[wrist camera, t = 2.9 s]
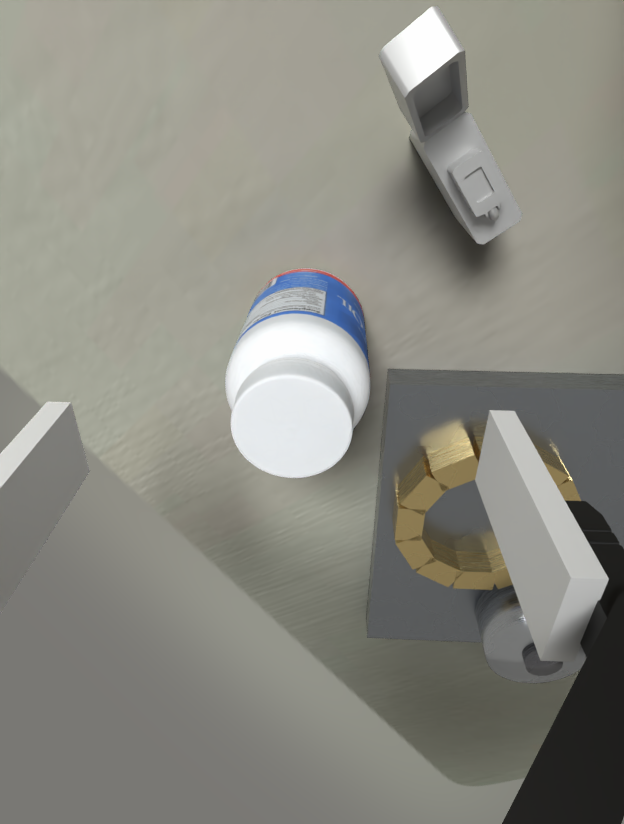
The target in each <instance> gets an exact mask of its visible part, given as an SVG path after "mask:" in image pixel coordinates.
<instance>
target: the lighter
mask: <svg viewBox="0 0 624 824" xmlns="http://www.w3.org/2000/svg"><path fill="white" fill-rule="evenodd" d="M379 57H380V60H381V62H382V65H383V67H384V70H385V72H386V75H387V77H388V80H389V83H390V85H391V88H392V90H393V93H394V95H395V98H396V100H397V103H398V105H399V108H400V110H401V111H402V113H403V115H404V116H405V118H406V120H407V121H408V123H409V125H410V126H411V128H412V130H411V132H410V136H409V138H410V140H411V141H412V143H413V145H414V147H415V148H416V150H417V152H418V154H419V155H420V157H421V159H422V161H423V162H424V164H425V166H426V168H427V169H428V171H429V173H430V175H431V176H432V178H433V180H434V182H435V183H436V185H437V187H438V188H439V190H440V192H441V194H442V195H443V197H444V199H445V201H446V202H447V204H448V206H449V208H450V209H451V211H452V213H453V215H454V216H455V218H456V219H457V220H458V222H459V223H460V224H461V225H462V226H463V227H464V229H465V230H466V231H467V232H468V233H469V235H470V236H471V237H472V238H473V239H474V240H475V242H476V243H478V244H483V245H484V244H485V243H487V242H488V241H490V240H491V239H493V238H495V237H496V236H498V235H499V234H501V233H502V232H504V231H505V230H507V229H508V228H510V227H512V226H513V225H515V224H516V223H518V222H519V221H520V219H521V216H522V212H521V210H520V208H519V206H518V204H517V202H516V200H515V198H514V197H513V195H512V193H511V191H510V189H509V187H508V185H507V183H506V181H505V179H504V177H503V175H502V173H501V171H500V169H499V167H498V165H497V163H496V161H495V159H494V157H493V156H492V154H491V152H490V150H489V148H488V146H487V144H486V142H485V140H484V138H483V136H482V134H481V132H480V130H479V128H478V126H477V124H476V122H475V120H474V118H473V116H472V114H471V113H467V112H465V111H466V109H467V108H468V107H469V106H468V90H467V75H466V59H465V50H464V48H463V47H462V45H461V43H460V42H459V40H458V38H457V37H456V35H455V33H454V32H453V30H452V29H451V27H450V25H449V24H448V22H447V20H446V19H445V17H444V15H443V14H442V12H441V10H440V9H439V7H438V6H434V7H430V8H429V9H428V10H427V11H426V12H425V13H423V14H422V15H421V16H420V17H419V18H417V19H416V20H415V21H414V22H413V23H411V24H410V25H409V26H408V27H407V28H406V29H404V30H403V31H402V32H401V33H400V34H398V35H397V36H396V37H395V38H394V39H393V40H391V41H390V42H389V43H388V44H387V45H385V46H384V47H383V49H382V50H381V52H380V54H379Z"/></svg>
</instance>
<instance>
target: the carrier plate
mask: <svg viewBox="0 0 624 824" xmlns="http://www.w3.org/2000/svg"><path fill="white" fill-rule="evenodd" d="M489 410H502V411H515V413H516V415H517V416H518V418H519V420H520V422H521V423H522V425H523V427H524V429H525V431H526V432H527V434H528V436H529V438H530V439H531V441H532V443H533V445H534V447H535V448H536V450H537V452H538V454H539V455H540V457H541V459H542V461H543V463H544V464H545V466H546V468H547V470H548V471H549V473H550V475H551V477H552V479H553V480H554V482H555V484H556V486H557V488H558V489H559V491H560V493H561V495H562V496H563V498H564V500H565V501H586V502H588V503H589V504H590V505H591V506H592V507H594V508H595V509H596V510H597V511H598V512H600V513H601V514H602V515H603V517H604V518H605V520H606V522H607V523H608V525H609V526H610V528H611V530H612V533H614V534H615V536H616V537H617V539H618V541H619V545H622V547H623V549H624V375H616V374H574V373H532V372H490V371H448V370H407V369H388V372H387V383H386V395H385V406H384V418H383V430H382V441H381V453H380V464H379V476H378V487H377V499H376V510H375V522H374V533H373V545H372V556H371V568H370V579H369V591H368V602H367V614H366V622H367V638H390V639H413V640H437V641H460V642H482V644H483V648H484V652H485V656H486V660H487V663H488V665H489V667H490V668H491V669H492V670H493V671H494V672H495V673H496V674H498V675H499V676H501V677H503V678H506V679H509V680H512V681H516V682H522V683H543V682H550V681H555V680H558V679H562V678H564V677H567V676H569V675H571V674H573V673H575V672H577V671H578V670H580V669H581V668H582V666H583V664H584V662H585V660H586V655H585V653H584V651H583V649H582V646H581V647H580V649H579V651H578V654H577V656H576V659H575V661H574V662H563V661H540V658H539V655H538V652H537V649H536V647H535V644H534V641H533V638H532V636H531V633H530V630H529V627H528V625H527V622H526V619H525V616H524V614H523V611H522V608H521V605H520V603H519V600H518V597H517V594H516V592H515V589H514V586H513V583H512V581H511V578H510V575H509V572H508V570H507V567H506V564H505V561H504V559H503V556H502V553H501V550H500V548H499V545H498V542H497V539H496V537H495V534H494V531H493V528H492V526H491V523H490V520H489V517H488V515H487V512H486V509H485V506H484V504H483V501H482V498H481V495H480V493H479V490H478V487H477V484H476V482H475V478H476V473H477V468H478V464H479V459H480V454H481V449H482V444H483V439H484V434H485V429H486V425H487V420H488V415H489Z"/></svg>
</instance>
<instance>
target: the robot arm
mask: <svg viewBox="0 0 624 824" xmlns="http://www.w3.org/2000/svg"><path fill="white" fill-rule="evenodd" d="M88 473H89V467H88V464H87V460H86V456H85V453H84V449H83V445H82V441H81V437H80V434H79V430H78V426H77V422H76V419H75V415H74V411H73V407H72V404H71V402H47V403H46V404H45V405H44V406H43V407H42V408H41V409H40V411H38V413H37V414H36V415H35V416H34V417H33V418H32V420H30V421H29V423H28V424H27V425H26V426H25V427H24V428H23V429H22V430H21V432H20V433H19V434H18V435H17V436H16V437H15V438H14V439H13V441H11V443H10V444H9V445H8V446H7V447H6V448H5V449H4V450H3V451H2V453H1V454H0V614H1V612H2V610H3V609H4V607H5V606H6V604H7V602H8V601H9V599H10V598H11V596H12V595H13V593H14V591H15V590H16V588H17V586H18V585H19V583H20V582H21V580H22V578H23V577H24V575H25V574H26V572H27V571H28V569H29V567H30V566H31V564H32V563H33V561H34V560H35V558H36V556H37V555H38V553H39V552H40V550H41V548H42V547H43V545H44V544H45V542H46V540H47V539H48V537H49V536H50V534H51V532H52V531H53V529H54V528H55V526H56V524H57V523H58V521H59V520H60V518H61V517H62V515H63V513H64V512H65V510H66V509H67V507H68V505H69V504H70V502H71V501H72V499H73V497H74V496H75V494H76V493H77V491H78V489H79V488H80V486H81V485H82V483H83V481H84V480H85V478H86V476H87V475H88ZM475 482H476V484H477V487H478V490H479V493H480V495H481V498H482V501H483V504H484V506H485V509H486V512H487V515H488V517H489V520H490V523H491V526H492V528H493V531H494V534H495V537H496V539H497V542H498V545H499V548H500V550H501V553H502V556H503V559H504V561H505V564H506V567H507V570H508V572H509V575H510V578H511V581H512V583H513V586H514V589H515V592H516V594H517V597H518V600H519V603H520V605H521V608H522V611H523V614H524V616H525V619H526V622H527V625H528V627H529V630H530V633H531V636H532V638H533V641H534V644H535V647H536V649H537V652H538V655H539V658H540V661H563V662H574V661H575V659H576V656H577V654H578V651H579V649H580V647H581V646H582V649H583V651H584V653H585V655H586V660H585V662H584V664H583V666H582V668H581V670H580V672H579V674H578V676H577V678H576V680H575V682H574V684H573V686H572V688H571V690H570V692H569V694H568V696H567V697H566V699H565V701H564V703H563V705H562V707H561V709H560V711H559V713H558V715H557V717H556V719H555V721H554V723H553V725H552V727H551V729H550V731H549V733H548V735H547V737H546V739H545V741H544V743H543V745H542V746H541V748H540V750H539V752H538V754H537V756H536V758H535V760H534V762H533V764H532V766H531V768H530V770H529V772H528V774H527V776H526V778H525V780H524V782H523V784H522V786H521V788H520V790H519V792H518V794H517V796H516V797H515V799H514V802H513V803H512V805H511V807H510V809H509V811H508V813H507V815H506V817H505V819H504V821H503V823H502V824H621V823H622V820H623V817H624V549H623V547H622V545H619V541H618V539H617V537H616V536H615V534H614V533H612V530H611V528H610V526H609V525H608V523H607V522H606V520H605V518H604V517H603V515H602V514H601V513H600V512H598V511H597V510H596V509H595V508H594V507H592V506H591V505H590V504H589V503H588V502H586V501H565V500H564V498H563V496H562V495H561V493H560V491H559V489H558V488H557V486H556V484H555V482H554V480H553V479H552V477H551V475H550V473H549V471H548V470H547V468H546V466H545V464H544V463H543V461H542V459H541V457H540V455H539V454H538V452H537V450H536V448H535V447H534V445H533V443H532V441H531V439H530V438H529V436H528V434H527V432H526V431H525V429H524V427H523V425H522V423H521V422H520V420H519V418H518V416H517V415H516V413H515V411H502V410H489V415H488V420H487V425H486V429H485V434H484V439H483V444H482V449H481V454H480V459H479V464H478V468H477V473H476V478H475Z"/></svg>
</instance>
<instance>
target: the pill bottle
mask: <svg viewBox="0 0 624 824" xmlns="http://www.w3.org/2000/svg"><path fill="white" fill-rule="evenodd" d="M225 387H226V395H227V400H228V403H229V405H230V408H231V410H232V414H231V432H232V436H233V439H234V442H235V444H236V446H237V448H238V449H239V451H240V452H241V453H242V455H243V456H244V457H245V458H246V459H247V460H248V461H249V462H250V463H252V464H253V465H254V466H256V467H257V468H259V469H260V470H263V471H265V472H267V473H270V474H272V475H276V476H280V477H286V478H304V477H310V476H313V475H317V474H319V473H322V472H324V471H326V470H328V469H329V468H331V467H332V466H334V465H335V464H336V463H337V462H338V461H339V460H340V459H341V458H342V457H343V456H344V454H345V453H346V451H347V449H348V448H349V445H350V442H351V439H352V433H353V429H354V428H355V427H356V425H357V424H358V423H359V421H360V419H361V418H362V416H363V414H364V412H365V409H366V407H367V405H368V401H369V396H370V370H369V361H368V351H367V342H366V333H365V322H364V315H363V311H362V308H361V305H360V302H359V300H358V298H357V296H356V295H355V293H354V292H353V291H352V289H351V288H350V287H349V286H348V285H347V284H346V283H345V282H344V281H342V280H341V279H340V278H338V277H337V276H335V275H333V274H331V273H328V272H326V271H322V270H318V269H311V268H300V269H293V270H289V271H286V272H284V273H281V274H279V275H278V276H276V277H274V278H273V279H271V280H270V281H269V282H268V283H267V284H266V285H265V286H264V287H263V288H262V289H261V291H260V292H259V293H258V295H257V296H256V298H255V300H254V302H253V304H252V307H251V309H250V312H249V314H248V316H247V319H246V321H245V323H244V325H243V328H242V330H241V333H240V335H239V338H238V340H237V342H236V345H235V347H234V350H233V352H232V355H231V358H230V361H229V364H228V367H227V371H226V379H225Z"/></svg>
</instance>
